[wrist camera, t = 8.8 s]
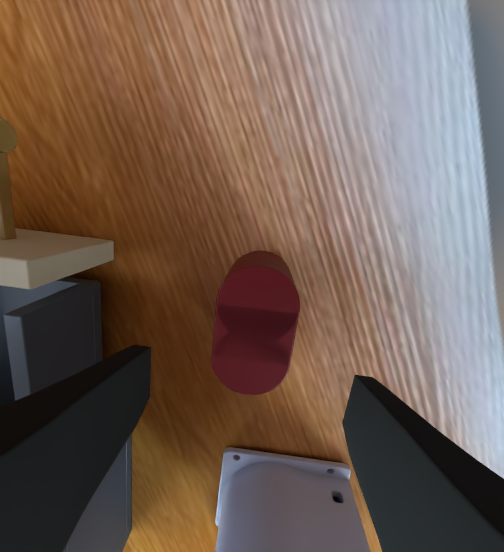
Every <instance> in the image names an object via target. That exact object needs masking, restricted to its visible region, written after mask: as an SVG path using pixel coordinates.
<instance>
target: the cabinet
mask: <svg viewBox="0 0 504 552" xmlns="http://www.w3.org/2000/svg"><path fill="white" fill-rule="evenodd" d="M131 530H132V438H131V435H130V437H129V438H128V440H127V441H126V443H125V445H124V446H123V448H122V450H121V451H120V453H119V454H118V456H117V458H116V459H115V461H114V463H113V464H112V466H111V467H110V469H109V471H108V472H107V474H106V475H105V477H104V479H103V480H102V482H101V484H100V485H99V487H98V488H97V490H96V492H95V493H94V495H93V496H92V498H91V500H90V502H89V503H88V505H87V507H86V509H85V510H84V512H83V514H82V516H81V518H80V520H79V521H78V523H77V525H76V527H75V529H74V531H73V533H72V535H71V537H70V539H69V541H68V543H67V545H66V547H65V549H64V550H63V552H122V551H123V549H124V547H125V544H126V542H127V540H128V537H129V535H130V532H131Z"/></svg>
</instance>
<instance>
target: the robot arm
mask: <svg viewBox="0 0 504 552" xmlns="http://www.w3.org/2000/svg"><path fill="white" fill-rule="evenodd" d="M150 381H151V347H147V346H140V345H133V346H130V347H128V348H126V349H124V350H122V351H120V352H118V353H116V354H114V355H112V356H110V357H108V358H106V359H104V360H102V361H100V362H98V363H96V364H94V365H92V366H90V367H88V368H86V369H84V370H82V371H80V372H78V373H76V374H74V375H72V376H70V377H68V378H65V379H63V380H61V381H59V382H57V383H55V384H52V385H50V386H48V387H46V388H44V389H42V390H39V391H37V392H35V393H33V394H30V395H28V396H25V397H23V398H21V399H18V400H16V401H13V402H11V403H8V404H6V405H3V406H0V552H63V550H64V549H65V547H66V545H67V543H68V541H69V539H70V537H71V535H72V533H73V531H74V529H75V527H76V525H77V523H78V521H79V520H80V518H81V516H82V514H83V512H84V510H85V509H86V507H87V505H88V503H89V502H90V500H91V498H92V496H93V495H94V493H95V492H96V490H97V488H98V487H99V485H100V484H101V482H102V480H103V479H104V477H105V475H106V474H107V472H108V471H109V469H110V467H111V466H112V464H113V463H114V461H115V459H116V458H117V456H118V454H119V453H120V451H121V450H122V448H123V446H124V445H125V443H126V441H127V440H128V438H129V437H130V435H131V433H132V432H133V430H134V428H135V427H136V425H137V423H138V421H139V419H140V417H141V415H142V413H143V411H144V408H145V406H146V404H147V402H148V400H149V397H150ZM343 428H344V433H345V437H346V442H347V446H348V451H349V455H350V458H351V461H352V464H353V467H354V470H355V473H356V476H357V478H358V481H359V484H360V487H361V490H362V493H363V496H364V499H365V501H366V504H367V507H368V510H369V513H370V516H371V519H372V522H373V524H374V527H375V530H376V533H377V536H378V539H379V542H380V545H381V548H382V552H504V479H503V478H502V477H500V476H499V475H497V474H496V473H494V472H493V471H491V470H490V469H489V468H487V467H486V466H484V465H483V464H482V463H480V462H479V461H477V460H476V459H475V458H473V457H472V456H471V455H469V454H468V453H467V452H465V451H464V450H463V449H461V448H460V447H459V446H457V445H456V444H455V443H454V442H452V441H451V440H450V439H448V438H447V437H446V436H444V435H443V434H442V433H441V432H439V431H438V430H437V429H436V428H434V427H433V426H432V425H431V424H429V423H428V422H427V421H426V420H425V419H423V418H422V417H421V416H420V415H418V414H417V413H416V412H415V411H414V410H412V409H411V408H410V407H409V406H408V405H406V404H405V403H404V402H403V401H402V400H400V399H399V398H398V397H397V396H396V395H394V394H393V393H392V392H391V391H390V390H388V389H387V388H386V387H385V386H384V385H382V384H381V383H380V382H378V381H377V380H376V379H374V378H373V377H367V376H359V375H355V377H354V380H353V384H352V388H351V392H350V396H349V400H348V404H347V407H346V411H345V415H344V419H343ZM236 455H238V456H236ZM350 474H351V471H350V468H349V466H348V465H347V464H344V463H338V462H331V461H324V460H317V459H310V458H303V457H296V456H289V455H282V454H275V453H268V452H261V451H254V450H247V449H240V448H233V447H228V448H226V449H225V450H224V454H223V461H222V470H221V478H220V487H219V496H218V504H217V513H216V521H215V523H216V525H217V526H218V527H219V530H218V536H217V543H216V550H215V552H370V548H369V545H368V542H367V538H366V535H365V532H364V528H363V525H362V522H361V518H360V515H359V512H358V509H357V505H356V502H355V499H354V495H353V492H352V489H351V485H350V482H349V478H350Z"/></svg>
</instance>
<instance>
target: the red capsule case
mask: <svg viewBox="0 0 504 552" xmlns="http://www.w3.org/2000/svg"><path fill="white" fill-rule="evenodd" d="M299 312H300V300H299V295H298V292H297V289H296V286H295V284H294V281H293V278H292V275H291V273H290V270H289V268H288V266H287V265H286V263H285V262H284V261H283V260H282V259H281V258H280V257H278V256H277V255H275V254H273V253H270V252H266V251H254V252H250V253H247V254H245V255H243V256H242V257H240V258H239V259H238V260H237V261H236V262H235V263H234V264H233V266H232V268H231V269H230V271H229V273H228V275H227V276H226V278H225V280H224V282H223V283H222V285H221V287H220V289H219V292H218V295H217V300H216V311H215V322H214V333H213V344H212V356H211V361H212V367H213V370H214V372H215V374H216V376H217V378H218V379H219V380H220V381H221V382H222V383H223V384H224V385H225V386H226V387H228V388H229V389H231V390H233V391H235V392H238V393H241V394H246V395H258V394H263V393H266V392H269V391H271V390H273V389H274V388H276V387H277V386H278V385H279V384H280V383H281V382H282V381H283V380H284V378H285V377H286V375H287V373H288V370H289V367H290V361H291V356H292V350H293V345H294V339H295V333H296V328H297V322H298V317H299Z"/></svg>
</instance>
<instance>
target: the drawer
mask: <svg viewBox="0 0 504 552" xmlns="http://www.w3.org/2000/svg"><path fill="white" fill-rule="evenodd" d="M16 146H17V135H16V132H15V130H14V128H13V127H12V125H11V124H10V123H9V122H8V121H6V120H5V119H3V118H1V117H0V406H3V405H6V404H8V403H11V402H13V401H16V400H18V399H21V398H23V397H25V396H28V395H30V394H33V393H35V392H37V391H39V390H42V389H44V388H46V387H48V386H50V385H52V384H55V383H57V382H59V381H61V380H63V379H65V378H68V377H70V376H72V375H74V374H76V373H78V372H80V371H82V370H84V369H86V368H88V367H90V366H92V365H94V364H96V363H98V362H100V361H102V360H103V350H102V319H101V289H100V281H95V280H87V279H80V278H72V277H67V276H70V275H73V274H76V273H79V272H81V271H84V270H87V269H90V268H93V267H95V266H98V265H101V264H104V263H107V262H110V261H112V260H114V242H113V241H112V240H104V239H97V238H89V237H81V236H74V235H66V234H58V233H50V232H43V231H35V230H27V229H19V228H15V221H14V212H13V204H12V195H11V186H10V178H9V169H8V160H7V154H6V153H4V152H11V151H13V150H14V149H15V148H16Z"/></svg>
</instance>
